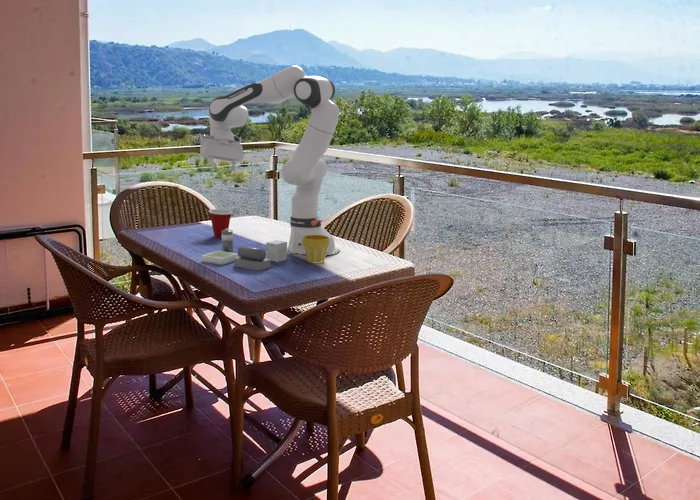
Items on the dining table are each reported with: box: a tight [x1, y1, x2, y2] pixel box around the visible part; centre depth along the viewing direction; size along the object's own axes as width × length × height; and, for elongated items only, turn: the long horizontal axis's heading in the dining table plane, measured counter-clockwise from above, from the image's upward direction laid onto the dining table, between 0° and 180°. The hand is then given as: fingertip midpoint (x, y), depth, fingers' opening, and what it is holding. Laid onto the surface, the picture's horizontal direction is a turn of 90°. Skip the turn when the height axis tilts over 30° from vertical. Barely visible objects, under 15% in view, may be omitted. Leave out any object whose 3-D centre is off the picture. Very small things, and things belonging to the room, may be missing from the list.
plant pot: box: [303, 235, 329, 263], centre depth 266 cm, size 10×10×10 cm
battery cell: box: [221, 229, 234, 253], centre depth 273 cm, size 4×4×11 cm
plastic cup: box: [208, 208, 234, 239], centre depth 307 cm, size 11×11×12 cm
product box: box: [265, 239, 288, 263], centre depth 267 cm, size 6×6×7 cm
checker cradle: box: [233, 245, 272, 272], centre depth 256 cm, size 12×7×7 cm, turn 60°
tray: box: [201, 250, 239, 266], centre depth 264 cm, size 10×10×2 cm
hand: (223, 169), depth 287 cm, fingers open, 8 cm apart
